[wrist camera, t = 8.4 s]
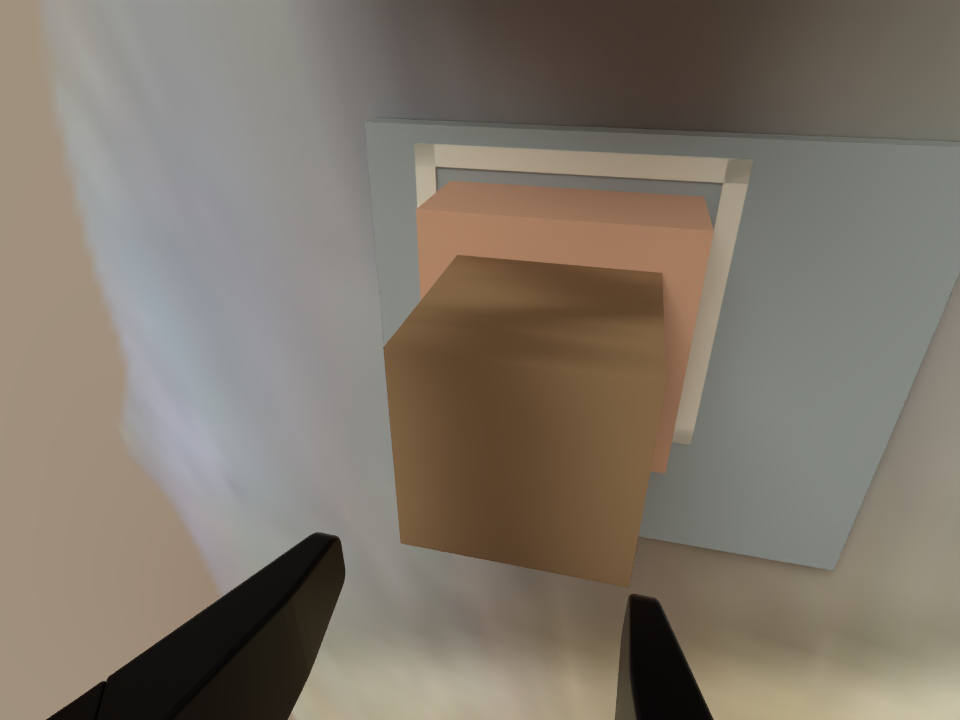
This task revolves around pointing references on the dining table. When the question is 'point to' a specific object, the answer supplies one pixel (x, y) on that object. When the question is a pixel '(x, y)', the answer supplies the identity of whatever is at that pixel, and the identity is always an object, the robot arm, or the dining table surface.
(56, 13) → the dining table surface
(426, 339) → the walnut cube
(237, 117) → the dining table surface
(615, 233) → the terracotta base
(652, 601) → the robot arm
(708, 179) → the grey flat slab
